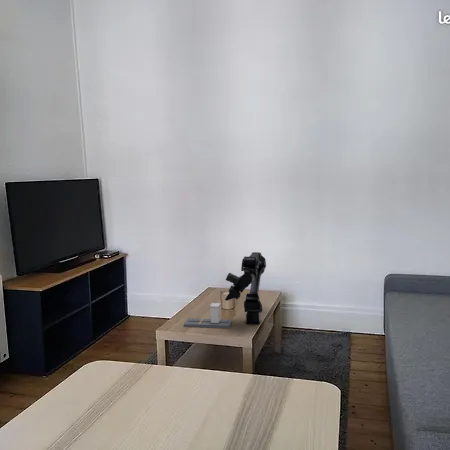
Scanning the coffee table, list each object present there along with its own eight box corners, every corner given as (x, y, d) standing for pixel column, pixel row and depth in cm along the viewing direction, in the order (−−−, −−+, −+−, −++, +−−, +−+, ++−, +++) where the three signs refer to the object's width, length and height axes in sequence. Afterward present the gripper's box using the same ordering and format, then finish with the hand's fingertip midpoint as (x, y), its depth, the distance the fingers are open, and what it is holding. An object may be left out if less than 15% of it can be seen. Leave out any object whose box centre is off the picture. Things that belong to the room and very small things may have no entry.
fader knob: (221, 319, 242) (220, 303, 241) (219, 323, 237) (218, 306, 236) (212, 319, 243) (211, 302, 242) (210, 323, 238) (209, 306, 236)
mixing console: (232, 322, 243) (232, 319, 243) (229, 328, 234) (229, 325, 234) (188, 321, 247) (188, 318, 247) (183, 326, 239) (183, 323, 238)
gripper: (237, 264, 243) (217, 284, 247) (232, 272, 225) (210, 294, 229) (252, 279, 243) (232, 298, 246) (248, 288, 225) (226, 309, 228)
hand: (225, 299), depth 237 cm, fingers closed
